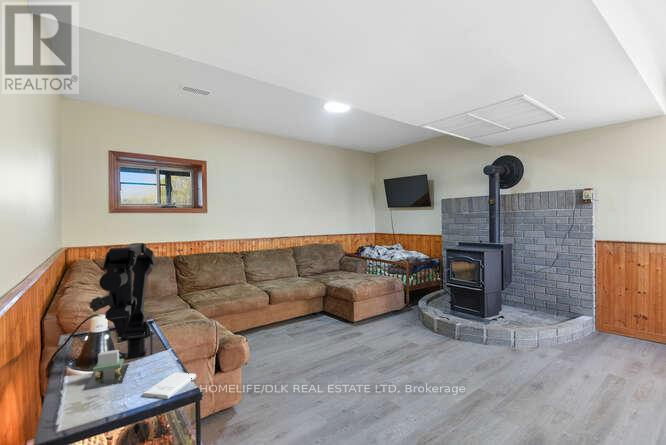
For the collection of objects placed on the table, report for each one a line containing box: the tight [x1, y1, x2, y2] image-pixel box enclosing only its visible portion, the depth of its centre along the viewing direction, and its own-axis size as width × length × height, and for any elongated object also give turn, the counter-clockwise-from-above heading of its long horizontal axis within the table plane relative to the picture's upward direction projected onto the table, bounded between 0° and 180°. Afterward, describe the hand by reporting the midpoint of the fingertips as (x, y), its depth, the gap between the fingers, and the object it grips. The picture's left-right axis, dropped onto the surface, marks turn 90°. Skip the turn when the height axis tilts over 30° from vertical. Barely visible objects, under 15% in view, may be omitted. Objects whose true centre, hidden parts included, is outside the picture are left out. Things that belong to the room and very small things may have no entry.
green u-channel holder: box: [92, 349, 125, 373], centre depth 101 cm, size 5×7×4 cm
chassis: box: [85, 363, 130, 391], centre depth 101 cm, size 13×9×3 cm
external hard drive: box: [142, 371, 197, 400], centre depth 94 cm, size 2×8×12 cm
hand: (122, 332), depth 105 cm, fingers open, 9 cm apart
